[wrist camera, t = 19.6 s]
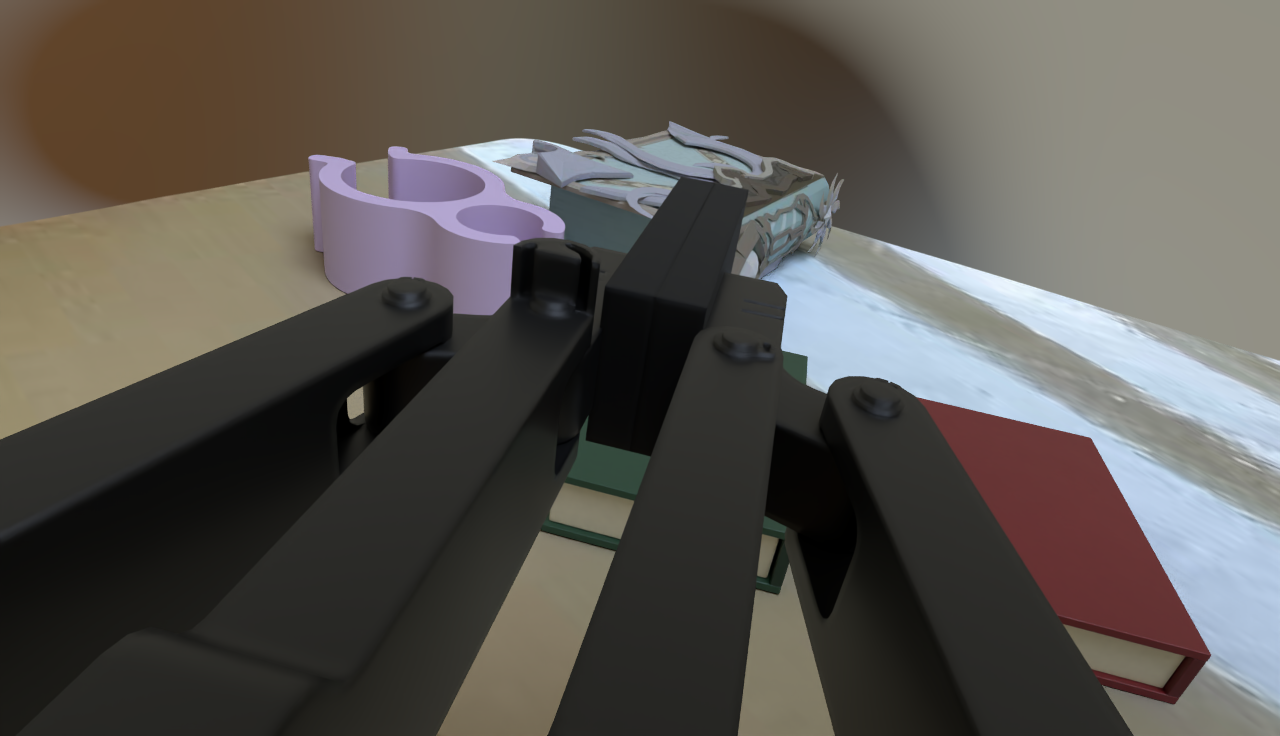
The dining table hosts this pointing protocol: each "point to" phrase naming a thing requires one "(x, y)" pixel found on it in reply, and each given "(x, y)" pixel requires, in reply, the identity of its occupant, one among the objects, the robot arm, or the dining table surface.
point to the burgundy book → (1080, 549)
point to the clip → (424, 227)
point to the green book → (609, 488)
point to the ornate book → (647, 172)
